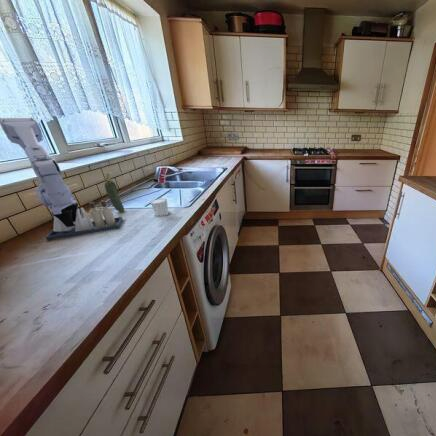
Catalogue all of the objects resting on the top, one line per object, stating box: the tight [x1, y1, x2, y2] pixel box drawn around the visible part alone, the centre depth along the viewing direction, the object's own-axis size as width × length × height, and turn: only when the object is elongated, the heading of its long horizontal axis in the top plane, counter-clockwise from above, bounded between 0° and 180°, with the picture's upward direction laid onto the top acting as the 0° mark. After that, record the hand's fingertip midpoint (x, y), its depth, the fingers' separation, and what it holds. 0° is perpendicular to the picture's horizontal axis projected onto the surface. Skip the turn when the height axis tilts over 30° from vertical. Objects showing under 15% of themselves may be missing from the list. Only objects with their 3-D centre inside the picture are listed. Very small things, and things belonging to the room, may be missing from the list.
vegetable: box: [104, 171, 125, 213], centre depth 108 cm, size 4×4×20 cm
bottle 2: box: [100, 200, 117, 226], centre depth 96 cm, size 3×3×11 cm
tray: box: [45, 216, 124, 241], centre depth 95 cm, size 9×23×2 cm, turn 115°
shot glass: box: [150, 198, 169, 217], centre depth 109 cm, size 7×7×7 cm
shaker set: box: [52, 207, 94, 232], centre depth 92 cm, size 12×4×11 cm, turn 108°
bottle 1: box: [89, 201, 106, 228], centre depth 95 cm, size 3×3×11 cm
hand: (72, 223), depth 92 cm, fingers closed on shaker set, 4 cm apart
